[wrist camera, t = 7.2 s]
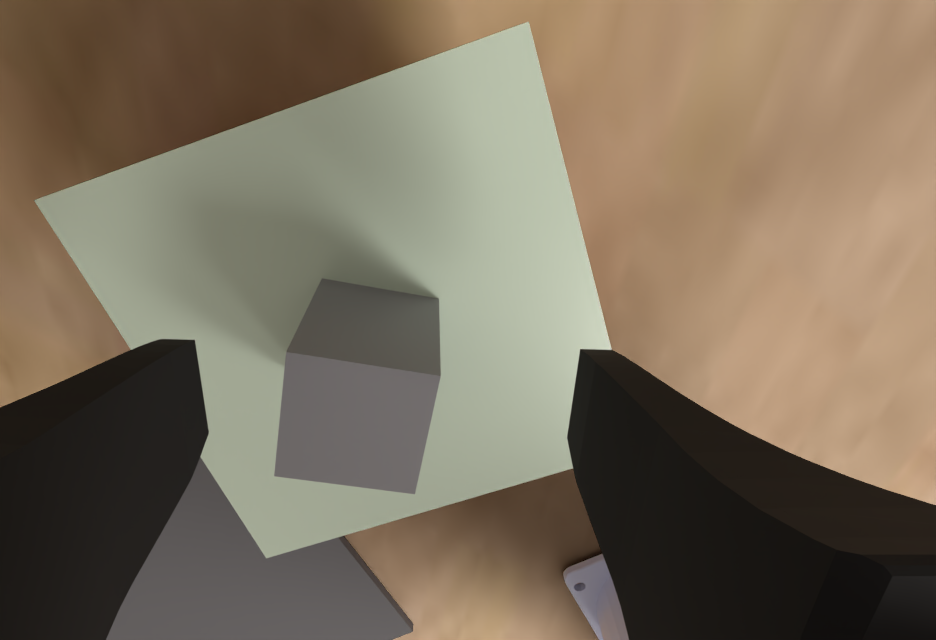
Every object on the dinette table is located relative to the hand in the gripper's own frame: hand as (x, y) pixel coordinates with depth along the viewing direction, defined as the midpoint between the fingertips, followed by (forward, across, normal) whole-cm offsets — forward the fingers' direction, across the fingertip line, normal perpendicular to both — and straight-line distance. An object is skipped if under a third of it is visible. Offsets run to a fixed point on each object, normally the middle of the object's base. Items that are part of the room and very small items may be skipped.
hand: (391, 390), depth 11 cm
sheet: (+5, +1, +1) cm, 5 cm away
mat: (+10, +9, +16) cm, 21 cm away
